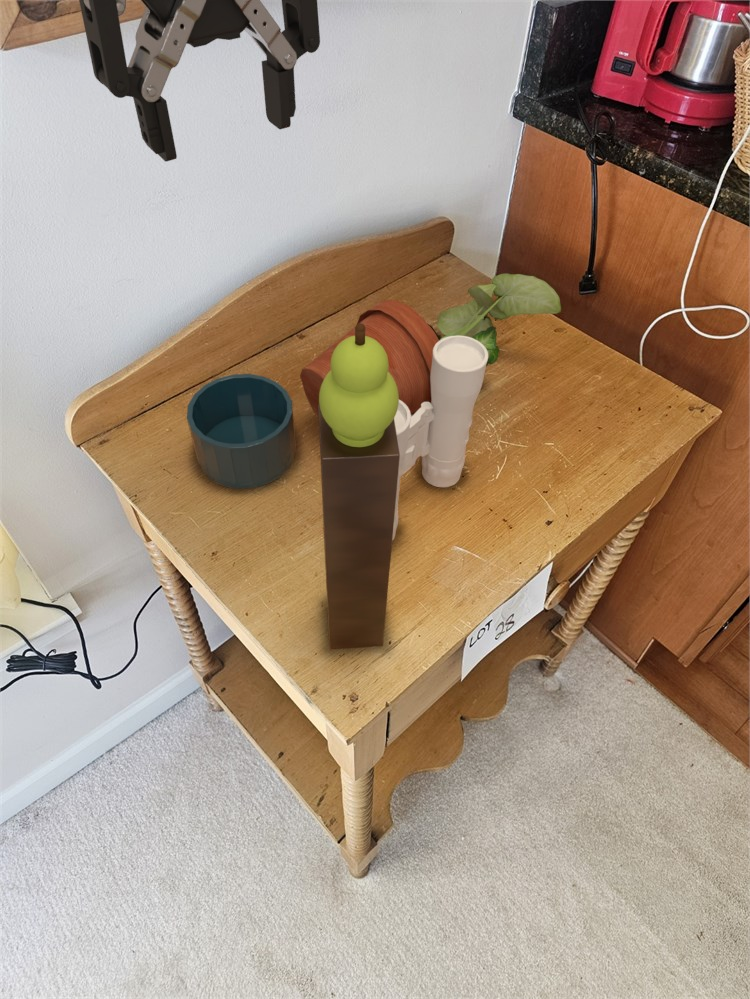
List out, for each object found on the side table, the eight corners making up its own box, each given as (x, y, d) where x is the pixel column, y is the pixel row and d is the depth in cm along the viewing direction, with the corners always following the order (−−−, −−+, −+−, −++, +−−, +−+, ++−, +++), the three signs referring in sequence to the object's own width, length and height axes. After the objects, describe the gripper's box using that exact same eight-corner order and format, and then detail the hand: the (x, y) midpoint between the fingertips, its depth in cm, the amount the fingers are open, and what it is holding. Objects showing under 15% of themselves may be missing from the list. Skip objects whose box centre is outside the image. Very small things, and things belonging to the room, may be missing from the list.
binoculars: (437, 448, 85) (455, 327, 71) (473, 471, 83) (499, 352, 69) (339, 532, 77) (338, 415, 62) (376, 561, 74) (383, 446, 60)
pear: (322, 458, 46) (317, 355, 39) (318, 403, 49) (314, 298, 42) (400, 454, 46) (409, 351, 40) (392, 399, 50) (399, 296, 43)
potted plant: (372, 490, 83) (568, 350, 95) (360, 396, 71) (587, 250, 83) (294, 421, 90) (485, 300, 103) (272, 326, 78) (491, 202, 91)
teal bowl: (194, 491, 80) (183, 450, 74) (200, 418, 87) (190, 375, 81) (297, 486, 80) (293, 444, 75) (294, 414, 88) (291, 371, 82)
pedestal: (329, 650, 68) (321, 459, 46) (326, 603, 71) (318, 403, 49) (382, 646, 68) (400, 455, 46) (377, 599, 72) (391, 400, 50)
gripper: (266, -215, 39) (286, 96, 52) (8, -199, 34) (101, 143, 46) (340, -192, 35) (342, 136, 48) (64, -170, 30) (148, 193, 43)
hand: (223, 139), depth 47 cm, fingers open, 8 cm apart
